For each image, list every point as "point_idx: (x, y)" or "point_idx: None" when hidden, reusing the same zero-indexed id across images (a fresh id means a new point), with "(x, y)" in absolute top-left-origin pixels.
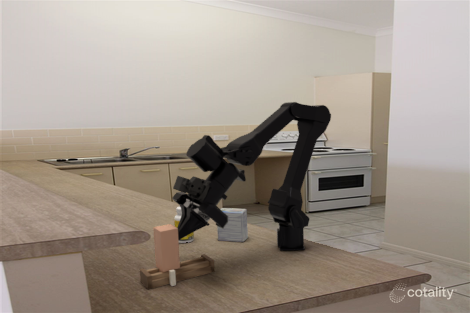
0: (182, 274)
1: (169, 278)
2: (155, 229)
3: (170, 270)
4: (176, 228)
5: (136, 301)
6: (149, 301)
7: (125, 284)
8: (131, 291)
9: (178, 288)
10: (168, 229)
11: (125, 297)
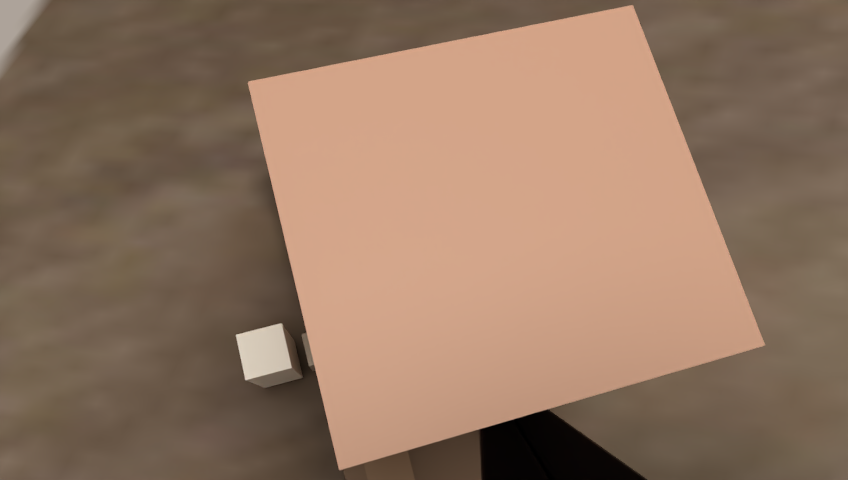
0: None
1: (302, 334)
2: (519, 39)
3: (273, 336)
4: (340, 438)
5: (108, 82)
6: (63, 163)
7: (432, 35)
8: (292, 64)
9: (192, 399)
10: (340, 255)
11: (208, 22)
